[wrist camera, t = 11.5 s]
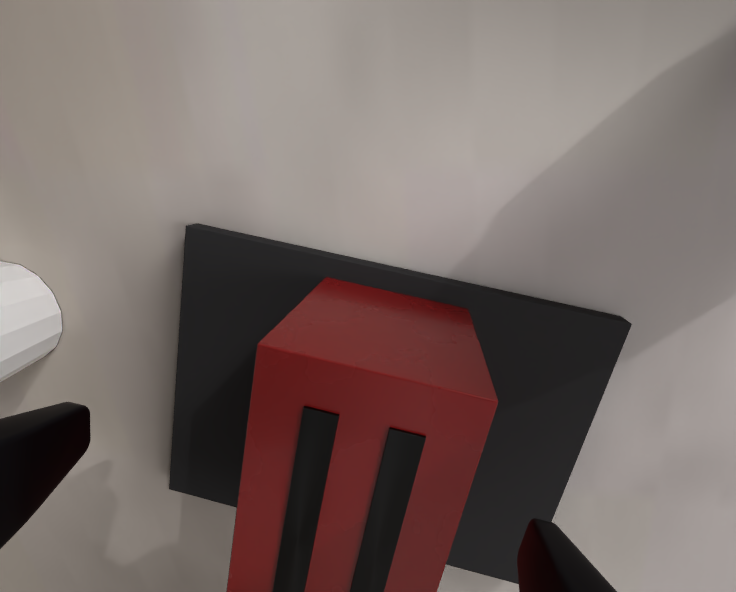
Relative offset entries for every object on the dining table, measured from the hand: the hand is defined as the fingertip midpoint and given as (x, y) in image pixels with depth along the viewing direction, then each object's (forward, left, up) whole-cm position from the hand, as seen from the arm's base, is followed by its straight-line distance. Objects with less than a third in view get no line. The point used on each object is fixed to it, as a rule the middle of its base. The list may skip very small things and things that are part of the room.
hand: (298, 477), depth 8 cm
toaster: (-1, +5, -11) cm, 12 cm away
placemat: (-1, +6, -12) cm, 13 cm away
